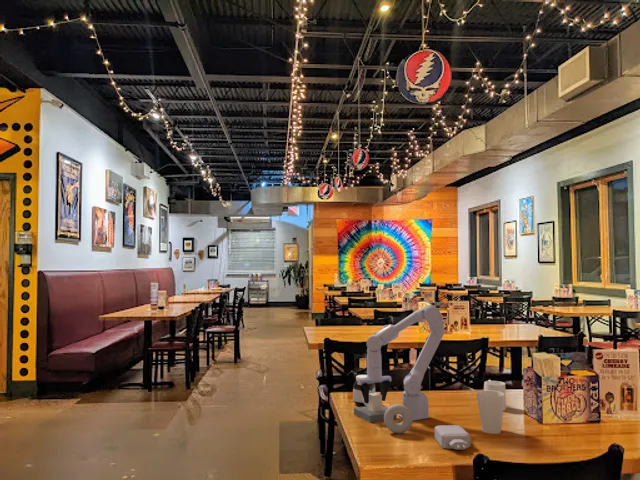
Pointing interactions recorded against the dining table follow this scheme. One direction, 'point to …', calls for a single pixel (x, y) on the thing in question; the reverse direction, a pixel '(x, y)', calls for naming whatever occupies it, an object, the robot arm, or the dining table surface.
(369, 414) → the tile
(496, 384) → the cup
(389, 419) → the donut
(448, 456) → the dining table surface
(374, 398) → the block
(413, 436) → the dining table surface
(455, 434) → the charger
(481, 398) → the foam cup
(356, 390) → the spread jar
